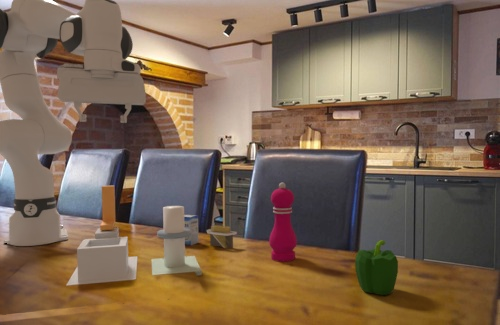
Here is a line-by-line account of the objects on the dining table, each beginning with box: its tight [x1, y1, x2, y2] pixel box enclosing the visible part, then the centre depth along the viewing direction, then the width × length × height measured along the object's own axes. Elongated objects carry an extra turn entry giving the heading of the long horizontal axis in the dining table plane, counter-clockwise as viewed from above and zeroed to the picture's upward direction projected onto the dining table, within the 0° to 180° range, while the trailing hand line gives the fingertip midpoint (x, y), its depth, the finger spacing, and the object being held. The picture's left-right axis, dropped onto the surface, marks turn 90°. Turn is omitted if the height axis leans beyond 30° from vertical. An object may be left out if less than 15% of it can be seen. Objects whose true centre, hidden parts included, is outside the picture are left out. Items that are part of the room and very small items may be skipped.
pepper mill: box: [268, 182, 298, 263], centre depth 108 cm, size 7×7×20 cm
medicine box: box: [184, 214, 199, 246], centre depth 128 cm, size 8×4×9 cm, turn 65°
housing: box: [65, 226, 139, 287], centre depth 97 cm, size 20×14×9 cm
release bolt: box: [99, 185, 116, 230], centre depth 105 cm, size 8×3×10 cm, turn 14°
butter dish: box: [206, 224, 238, 249], centre depth 122 cm, size 12×18×7 cm, turn 61°
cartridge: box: [156, 205, 191, 268], centre depth 100 cm, size 8×8×14 cm
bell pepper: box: [354, 239, 399, 296], centre depth 82 cm, size 8×8×10 cm
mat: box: [150, 255, 203, 276], centre depth 100 cm, size 14×11×1 cm
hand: (103, 122), depth 101 cm, fingers open, 8 cm apart
